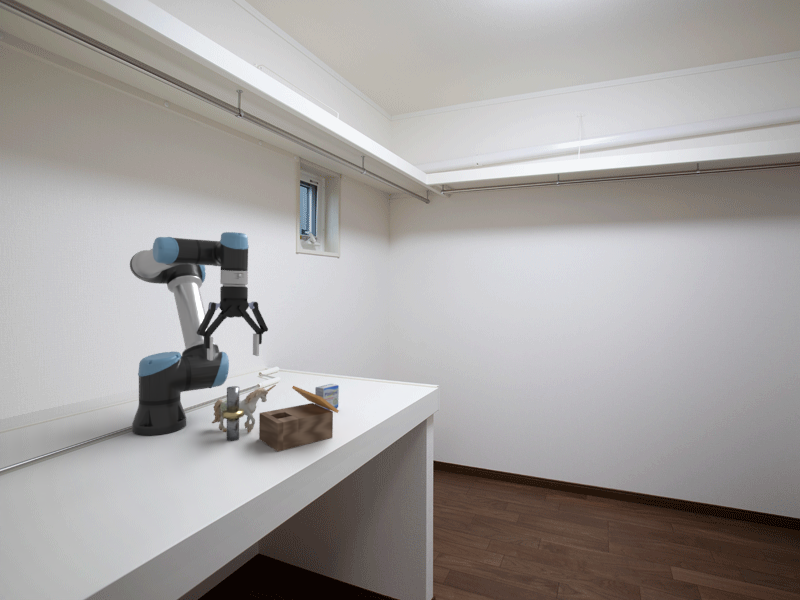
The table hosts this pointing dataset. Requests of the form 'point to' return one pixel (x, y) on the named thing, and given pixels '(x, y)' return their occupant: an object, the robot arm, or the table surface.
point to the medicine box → (328, 394)
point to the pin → (232, 413)
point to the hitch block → (295, 426)
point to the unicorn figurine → (245, 404)
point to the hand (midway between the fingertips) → (233, 357)
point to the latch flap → (315, 399)
